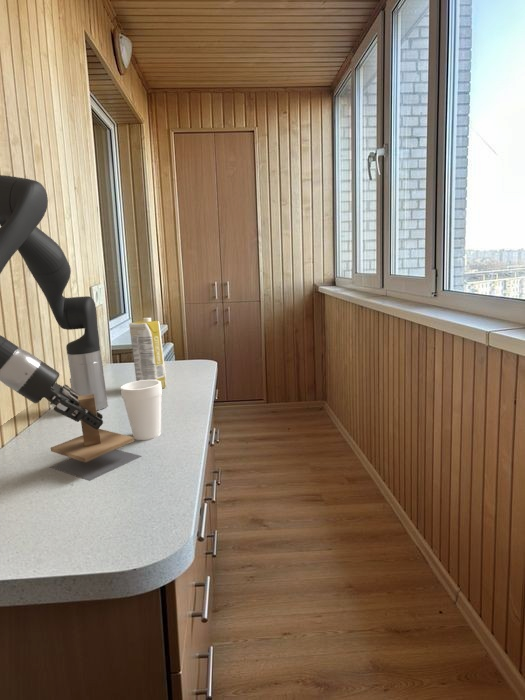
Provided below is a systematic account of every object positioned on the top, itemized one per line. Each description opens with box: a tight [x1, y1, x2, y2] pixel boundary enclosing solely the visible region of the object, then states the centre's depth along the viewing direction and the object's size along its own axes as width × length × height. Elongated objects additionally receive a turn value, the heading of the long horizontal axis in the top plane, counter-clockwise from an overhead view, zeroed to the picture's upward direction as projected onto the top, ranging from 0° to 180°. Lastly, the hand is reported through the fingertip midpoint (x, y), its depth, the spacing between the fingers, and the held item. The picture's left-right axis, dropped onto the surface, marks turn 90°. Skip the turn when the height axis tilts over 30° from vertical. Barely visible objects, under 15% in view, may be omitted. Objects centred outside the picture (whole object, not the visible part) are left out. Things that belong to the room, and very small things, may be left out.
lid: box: [50, 394, 135, 462], centre depth 101 cm, size 12×12×11 cm
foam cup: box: [120, 380, 163, 441], centre depth 115 cm, size 10×9×13 cm
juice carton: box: [128, 317, 168, 390], centre depth 161 cm, size 9×8×24 cm
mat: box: [49, 448, 142, 482], centre depth 103 cm, size 14×13×1 cm
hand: (100, 422), depth 102 cm, fingers closed on lid, 3 cm apart
